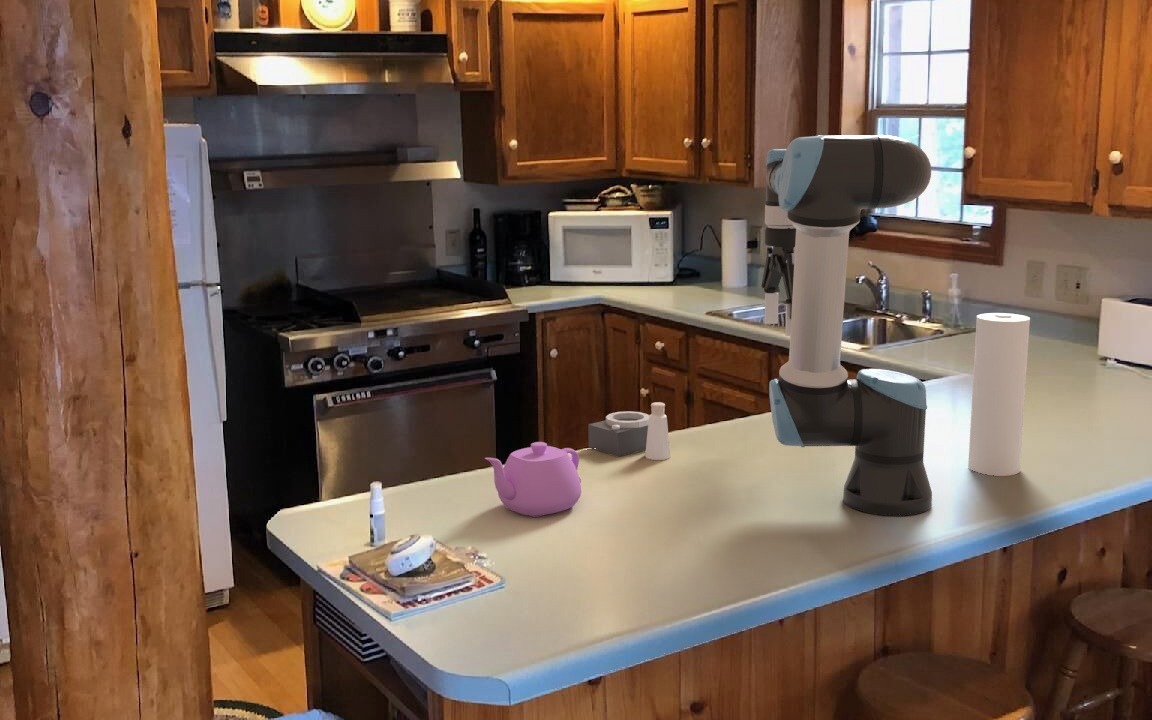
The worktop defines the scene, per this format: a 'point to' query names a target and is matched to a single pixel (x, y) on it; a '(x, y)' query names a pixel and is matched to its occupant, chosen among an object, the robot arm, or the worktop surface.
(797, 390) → the robot arm
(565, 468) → the teapot
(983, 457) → the cylinder container
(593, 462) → the worktop surface
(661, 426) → the salt shaker
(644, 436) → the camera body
